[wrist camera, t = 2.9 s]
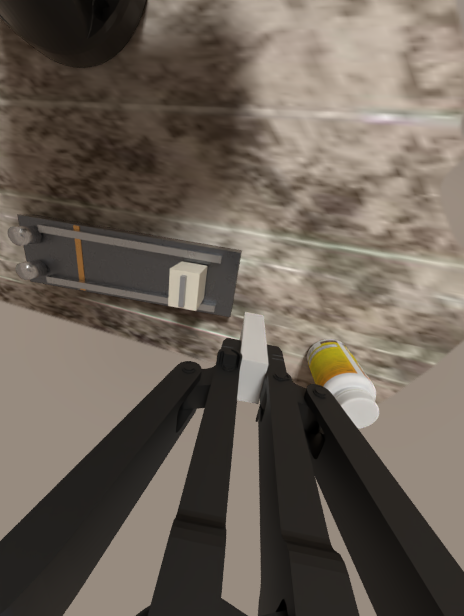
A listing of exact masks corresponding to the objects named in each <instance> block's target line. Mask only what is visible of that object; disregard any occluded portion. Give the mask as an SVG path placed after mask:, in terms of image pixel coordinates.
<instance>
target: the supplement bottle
mask: <svg viewBox="0 0 464 616" xmlns="http://www.w3.org/2000/svg"><path fill="white" fill-rule="evenodd" d="M307 362H308V365H309V368H310V371H311V373H312V376H313V379H314V381H315V384H317V385H321V386H323V387H325V388H326V389H328V390H329V391H330V392H331V393H332V394H333V396H334V397H335V399H336V400H337V401H338V403H339V404H340V405H341V407H342V408H343V409H344V411H345V412H346V413H347V415H348V416H349V417H350V419H351V420H352V422H353V423H354V424H355V426H356V427H357V428H358V429H359V428H364V427H367V426H369V425H371V424H372V423H374V422H375V421H376V420H377V418H378V416H379V408H378V406H377V404H376V402H375V399H376V390H375V387H374V385H373V383H372V382H371V380H370V379H369V377H368V376H367V375H366V373H365V372H364V370H363V369H362V368H361V366H360V365H359V363H358V362H357V361H356V359H355V358H354V356H353V355H352V354H351V352H350V351H349V350H348V348H347V347H346V346H345V345H344V344H343V343H342V342H340V341H337V340H334V339H325V340H321V341H318V342H317V343H315V344H314V345H313V346H312V347H311V348H310V349H309V351H308V354H307Z"/></svg>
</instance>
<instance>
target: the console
mask: <svg viewBox="0 0 464 616" xmlns="http://www.w3.org/2000/svg"><path fill="white" fill-rule="evenodd" d="M18 220H19V225H20V226H13V227H10V228H9V229H8V236H9V238H10V240H11V241H12V242H13V243H14V244H16V245H19V246H21V245H24V250H25V255H26V260H27V262H23V263H19V264H17V265H16V272H17V274H18V275H19V276H20V277H21V278H22V279H24V280H30V281H32V282H37V283H43V284H48V285H54V286H59V287H65V288H71V289H76V290H82V291H87V292H93V293H98V294H104V295H110V296H115V297H121V298H126V299H132V300H137V301H143V302H149V303H154V304H160V305H165V306H168V297H169V276H170V268H172V267H173V266H175V265H177V264H178V263H180V262H182V261H183V262H189V263H195V264H200V265H206V266H208V267H207V276H206V284H205V293H204V299H203V301H202V302H201V304H200V305H199V307H198V309H197V310H196V311H199V312H204V313H210V314H215V315H221V316H227V317H230V316H231V312H232V306H233V300H234V294H235V288H236V282H237V276H238V270H239V264H240V258H241V252H242V250H236V249H230V248H224V247H218V246H213V245H207V244H201V243H195V242H189V241H183V240H178V239H172V238H166V237H160V236H154V235H148V234H143V233H137V232H131V231H125V230H119V229H113V228H108V227H102V226H96V225H90V224H84V223H78V222H73V221H67V220H61V219H55V218H49V217H44V216H38V215H18ZM176 308H177V307H176Z"/></svg>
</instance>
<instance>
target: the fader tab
mask: <svg viewBox="0 0 464 616" xmlns="http://www.w3.org/2000/svg"><path fill="white" fill-rule="evenodd" d="M207 267H208V266H206V265H200V264H195V263H189V262H183V261H182V262H180V263H178V264H177V265H175V266H173V267H172V268H170V276H169V297H168V306H171V307H177V308H182V309H188V310H193V311H196V310H197V309H198V307H199V305H200V304H201V302H202V301H203V299H204V293H205V284H206V276H207Z"/></svg>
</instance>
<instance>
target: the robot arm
mask: <svg viewBox="0 0 464 616" xmlns="http://www.w3.org/2000/svg"><path fill="white" fill-rule="evenodd" d="M145 2H146V0H0V18H1V19H2V20H3V21H4V22H5V23H6V24H7V25H8V26H9V27H10V28H11V29H12V30H13V31H14V32H15V33H16V34H18V35H19V36H20V37H21V38H23V39H24V40H25V41H27V42H28V43H29V44H30V45H32V46H33V47H34V48H36V49H37V50H38V51H39V52H41V53H42V54H44V55H45V56H47V57H48V58H50V59H52V60H54V61H56V62H58V63H61V64H64V65H67V66H72V67H91V66H96V65H99V64H101V63H103V62H106V61H107V60H109V59H111V58H112V57H113V56H115V55H116V54H117V53H118V52H119V51H120V50H121V49H122V48H123V47H124V46H125V45H126V43H127V42H128V41H129V39H130V38H131V36H132V35H133V33H134V31H135V29H136V27H137V25H138V23H139V20H140V18H141V15H142V12H143V9H144V6H145ZM259 399H260V407H259V410H258V414H257V418H256V422H257V421H258V424H259V425H258V427H259V482H260V483H259V487H260V543H261V589H260V597H259V608H258V616H359V613H358V609H357V605H356V601H355V597H354V594H353V590H352V586H351V582H350V578H349V575H348V572H347V569H346V566H345V563H344V561H343V559H342V557H341V555H340V554H339V553H337V552H336V551H335V550H334V549H333V548H332V546H331V543H330V539H329V535H328V531H327V527H326V522H325V518H324V514H323V509H322V505H321V501H320V497H319V493H318V488H317V484H316V480H317V482H318V484H319V486H320V489H321V491H322V493H323V495H324V498H325V500H326V502H327V504H328V507H329V509H330V511H331V513H332V516H333V518H334V520H335V522H336V525H337V527H338V529H339V531H340V534H341V536H342V538H343V540H344V543H345V545H346V547H347V549H348V552H349V554H350V556H351V558H352V560H353V563H354V565H355V567H356V569H357V572H358V574H359V576H360V579H361V581H362V583H363V585H364V588H365V590H366V592H367V594H368V596H369V599H370V601H371V603H372V605H373V607H374V610H375V612H376V614H377V616H464V572H463V570H462V569H461V568H460V566H459V565H458V563H457V562H456V561H455V559H454V558H453V557H452V555H451V554H450V553H449V552H448V550H447V549H446V547H445V546H444V545H443V543H442V542H441V540H440V539H439V538H438V536H437V535H436V534H435V532H434V531H433V530H432V528H431V527H430V526H429V525H428V523H427V522H426V520H425V519H424V518H423V516H422V515H421V513H420V512H419V511H418V509H417V508H416V507H415V505H414V504H413V503H412V501H411V500H410V499H409V497H408V496H407V495H406V493H405V492H404V490H403V489H402V488H401V486H400V485H399V484H398V482H397V481H396V480H395V478H394V477H393V476H392V474H391V473H390V472H389V470H388V469H387V467H386V466H385V465H384V464H383V462H382V461H381V459H380V458H379V457H378V455H377V454H376V453H375V451H374V450H373V449H372V447H371V446H370V445H369V443H368V442H367V440H366V439H365V438H364V436H363V435H362V434H361V432H360V431H359V430H358V428H357V427H356V426H355V424H354V423H353V422H352V420H351V419H350V417H349V416H348V415H347V413H346V412H345V411H344V409H343V408H342V407H341V405H340V404H339V403H338V401H337V400H336V399H335V397H334V396H333V394H332V393H331V392H330V391H329V390H328V389H326V388H325V387H323V386H321V385H317V384H310V385H308V386H307V389H306V388H303V387H301V386H299V385H296V384H295V383H293V381H292V378H291V376H290V375H289V374H288V373H287V372H286V368H285V363H284V358H283V354H282V351H281V350H280V348H279V347H277V346H272V345H267V344H266V333H265V323H264V315H259V314H253V313H248V312H245V315H244V320H243V326H242V331H241V336H240V340H236V339H231V338H226V339H225V340H224V341H223V343H222V347H221V349H220V350H219V352H218V355H217V362H216V365H215V366H214V367H212V368H208V369H201V366H200V365H199V364H197V363H195V362H191V361H185V362H182V363H180V364H178V365H177V366H176V367H175V368H174V369H173V370H172V371H171V372H170V373H169V374H168V375H167V376H166V377H165V378H164V379H163V380H162V381H161V382H160V383H159V384H158V385H157V386H156V387H155V388H154V389H153V390H152V391H151V392H150V393H149V394H148V395H147V396H146V397H145V398H144V399H143V400H142V401H141V402H140V403H139V404H138V405H137V406H136V407H135V408H134V409H133V410H132V411H131V412H130V413H129V414H128V415H127V416H126V417H125V418H124V419H123V420H122V421H121V422H120V423H119V424H118V425H117V426H116V427H115V428H114V429H113V430H112V431H111V432H110V433H109V434H108V435H107V436H106V437H105V438H104V439H103V440H102V441H101V442H100V443H99V444H98V445H97V446H96V447H95V448H94V449H93V450H92V451H91V452H90V453H89V454H87V455H86V456H85V458H83V459H82V460H81V461H80V462H79V464H77V465H76V466H75V468H73V469H72V470H71V471H70V472H69V473H68V474H67V475H66V477H65V478H63V480H61V481H60V482H59V483H58V484H57V485H56V486H55V487H54V488H53V489H52V490H51V491H50V493H48V494H47V495H46V496H45V497H44V498H43V499H42V500H41V501H40V502H39V503H38V504H37V505H36V506H35V507H34V508H33V509H32V510H31V511H30V512H29V513H28V514H27V515H26V516H25V517H24V518H23V519H22V520H21V521H20V522H19V523H18V524H17V525H16V526H15V527H14V528H13V529H12V530H11V531H10V532H9V533H8V534H7V535H6V536H5V537H4V538H3V539H2V540H1V541H0V616H63V614H64V613H65V611H66V609H67V608H68V607H69V606H70V604H71V603H72V601H73V600H74V598H75V597H76V595H77V594H78V592H79V591H80V589H81V588H82V586H83V585H84V583H85V582H86V580H87V579H88V577H89V575H90V574H91V572H92V571H93V569H94V568H95V566H96V565H97V563H98V561H99V560H100V558H101V557H102V555H103V554H104V552H105V551H106V549H107V547H108V546H109V545H110V543H111V541H112V540H113V538H114V536H115V535H116V534H117V532H118V531H119V529H120V527H121V526H122V524H123V523H124V521H125V520H126V518H127V517H128V515H129V514H130V512H131V511H132V509H133V508H134V506H135V504H136V503H137V501H138V500H139V498H140V497H141V495H142V493H143V492H144V490H145V489H146V487H147V486H148V484H149V483H150V481H151V480H152V478H153V477H154V475H155V474H156V472H157V470H158V469H159V467H160V466H161V464H162V463H163V461H164V460H165V458H166V457H167V455H168V453H169V452H170V450H171V449H172V447H173V446H174V444H175V443H176V441H177V440H178V438H179V436H180V435H181V433H182V431H183V430H184V429H185V427H186V426H187V424H188V423H189V421H190V419H191V418H192V416H193V415H194V413H195V411H196V409H197V408H205V409H204V413H203V417H202V421H201V424H200V428H199V432H198V436H197V440H196V443H195V447H194V451H193V455H192V459H191V463H190V466H189V470H188V474H187V478H186V482H185V485H184V489H183V493H182V497H181V501H180V505H179V508H178V512H177V515H176V518H175V519H174V522H173V525H172V528H171V531H170V535H169V539H168V543H167V546H166V550H165V553H164V557H163V561H162V565H161V569H160V572H159V576H158V580H157V584H156V587H155V591H154V595H153V598H152V602H151V605H150V606H148V607H147V608H145V609H144V610H142V611H141V612H140V613H139V614H137V615H136V616H247V615H246V614H244V613H243V612H241V611H240V610H238V609H237V608H235V607H234V606H232V605H231V604H229V603H228V602H226V601H225V600H223V599H222V598H221V593H222V581H223V570H224V558H225V546H226V525H225V524H226V513H227V502H228V491H229V479H230V469H231V459H232V448H233V437H234V426H235V415H236V405H237V400H240V401H246V402H251V403H256V404H258V403H259ZM315 477H316V480H315Z"/></svg>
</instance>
